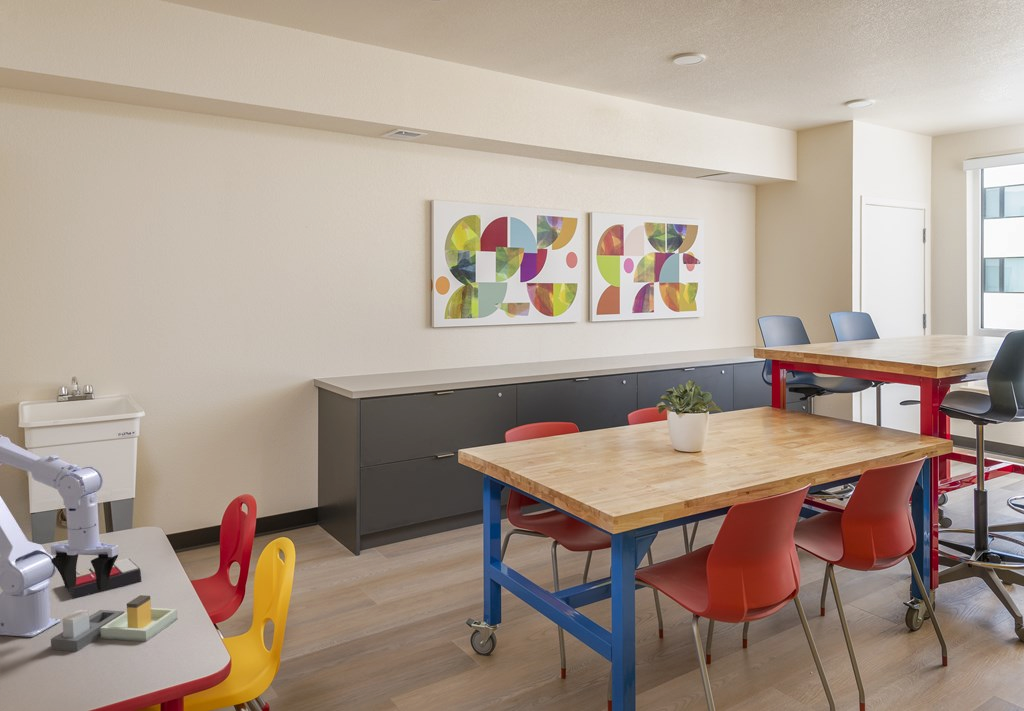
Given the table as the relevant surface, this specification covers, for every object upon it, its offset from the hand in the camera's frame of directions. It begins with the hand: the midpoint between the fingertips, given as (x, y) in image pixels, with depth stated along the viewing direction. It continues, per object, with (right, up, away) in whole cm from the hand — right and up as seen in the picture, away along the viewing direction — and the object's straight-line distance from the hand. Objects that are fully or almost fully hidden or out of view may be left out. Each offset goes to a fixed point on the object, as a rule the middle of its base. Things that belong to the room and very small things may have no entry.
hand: (86, 587), depth 152 cm
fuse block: (+1, -10, 0) cm, 10 cm away
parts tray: (+10, -10, +2) cm, 14 cm away
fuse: (0, -10, -4) cm, 11 cm away
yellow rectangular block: (+10, -9, +2) cm, 14 cm away
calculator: (-12, -9, +28) cm, 32 cm away
